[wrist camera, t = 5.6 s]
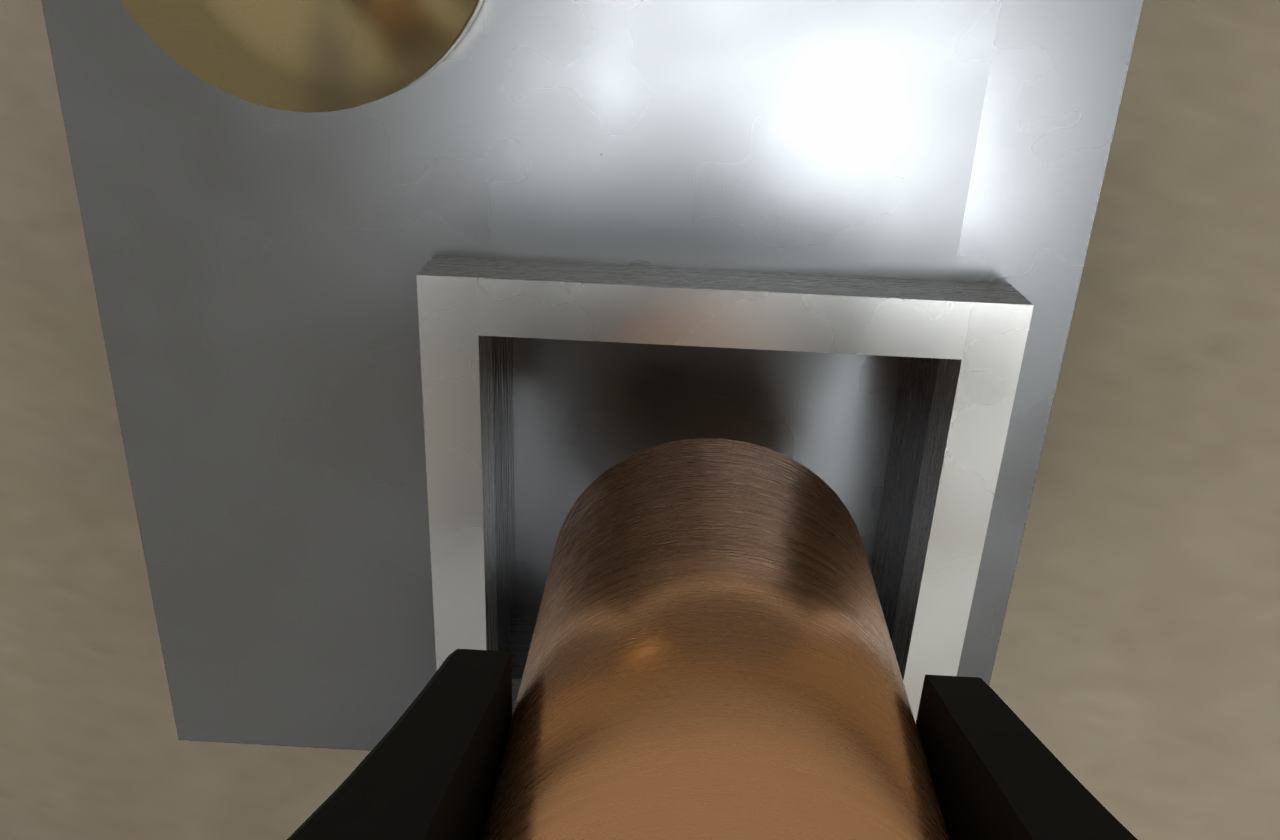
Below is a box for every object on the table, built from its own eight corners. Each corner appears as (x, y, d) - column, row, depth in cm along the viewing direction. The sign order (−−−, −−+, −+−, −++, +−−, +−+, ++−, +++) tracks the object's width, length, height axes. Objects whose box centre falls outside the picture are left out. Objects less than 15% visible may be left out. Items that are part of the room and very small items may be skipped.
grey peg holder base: (235, 653, 20) (151, 780, 17) (63, -495, 13) (-141, -653, 10) (933, 691, 20) (983, 829, 17) (1160, -455, 13) (1324, -603, 9)
